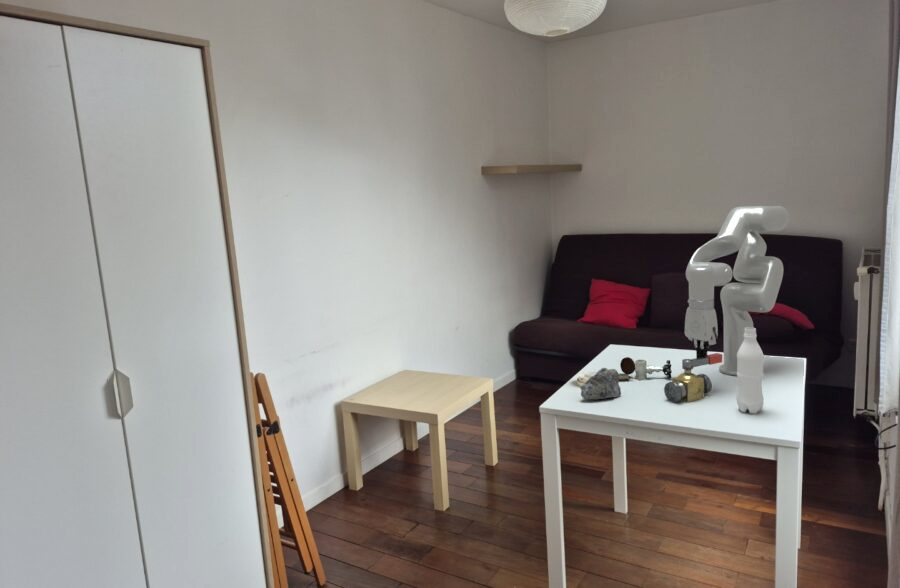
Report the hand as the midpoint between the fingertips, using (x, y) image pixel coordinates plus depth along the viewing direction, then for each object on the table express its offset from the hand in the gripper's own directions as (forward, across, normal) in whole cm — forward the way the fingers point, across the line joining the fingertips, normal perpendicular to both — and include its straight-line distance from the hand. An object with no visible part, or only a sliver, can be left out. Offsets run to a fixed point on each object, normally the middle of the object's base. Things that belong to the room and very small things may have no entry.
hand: (701, 359), depth 214 cm
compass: (+11, -25, -11) cm, 29 cm away
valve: (+11, -20, -3) cm, 23 cm away
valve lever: (+1, +3, -3) cm, 4 cm away
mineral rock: (+11, -15, -30) cm, 35 cm away
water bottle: (+11, +22, -3) cm, 24 cm away
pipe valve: (+10, +2, -8) cm, 14 cm away
